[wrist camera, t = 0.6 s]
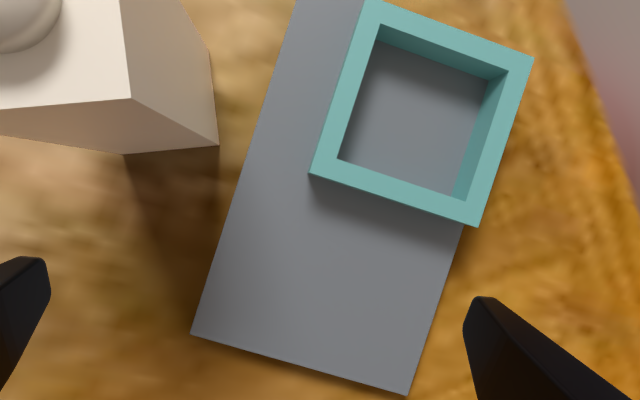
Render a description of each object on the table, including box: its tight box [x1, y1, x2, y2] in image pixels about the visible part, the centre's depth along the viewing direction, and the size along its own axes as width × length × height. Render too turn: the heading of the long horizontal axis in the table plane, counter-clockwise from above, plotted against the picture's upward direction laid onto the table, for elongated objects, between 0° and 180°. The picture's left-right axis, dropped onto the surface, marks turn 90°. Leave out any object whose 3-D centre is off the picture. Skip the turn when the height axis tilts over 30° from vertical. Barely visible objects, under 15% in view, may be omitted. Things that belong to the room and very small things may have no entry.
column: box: [0, 0, 220, 155], centre depth 15 cm, size 5×5×13 cm
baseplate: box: [189, 0, 534, 396], centre depth 21 cm, size 19×12×3 cm, turn 162°
